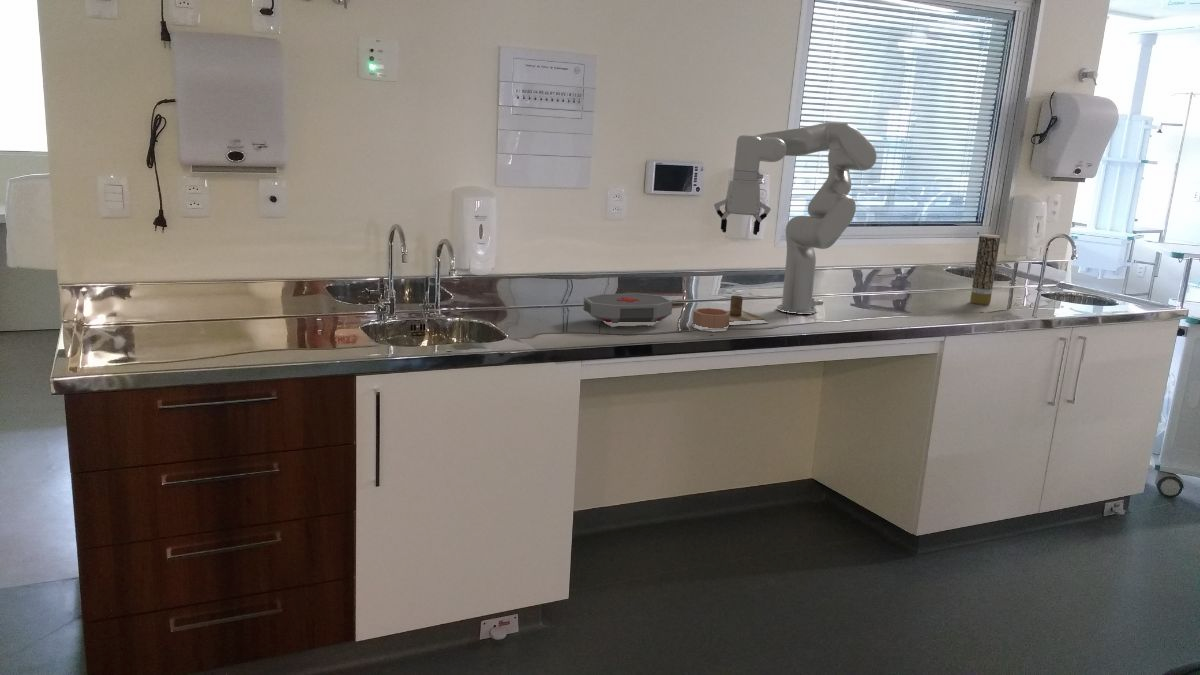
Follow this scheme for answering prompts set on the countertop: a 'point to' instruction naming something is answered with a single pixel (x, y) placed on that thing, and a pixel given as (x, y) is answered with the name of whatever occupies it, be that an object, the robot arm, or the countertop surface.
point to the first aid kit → (628, 307)
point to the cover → (740, 311)
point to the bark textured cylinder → (985, 269)
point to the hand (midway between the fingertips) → (739, 233)
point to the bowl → (711, 317)
